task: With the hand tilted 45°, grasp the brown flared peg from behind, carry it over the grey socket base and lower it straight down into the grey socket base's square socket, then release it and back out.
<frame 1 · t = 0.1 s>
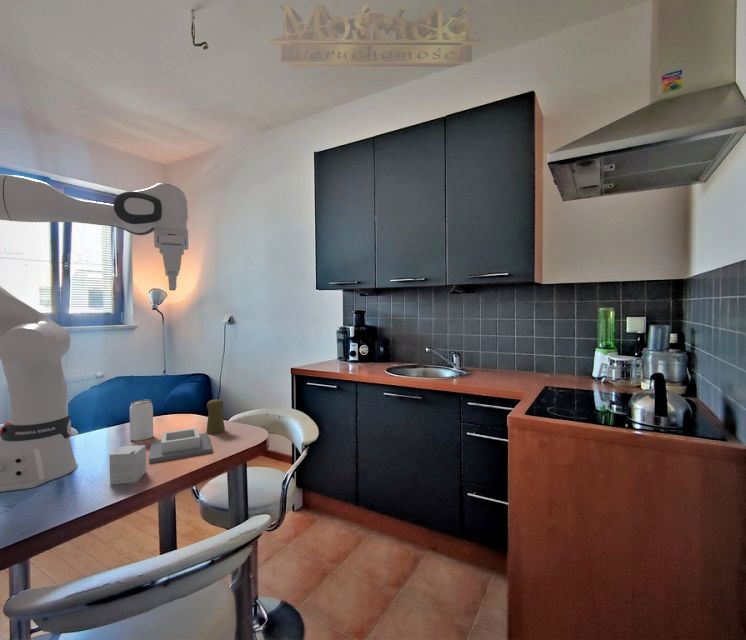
hand: (172, 289, 111), 48 cm above the table, tool pointing down, fingers open, 8 cm apart
brown flared peg: (215, 432, 131), on the table
can: (142, 438, 125), on the table
grey socket base: (180, 448, 115), on the table
skincare box: (128, 479, 95), on the table
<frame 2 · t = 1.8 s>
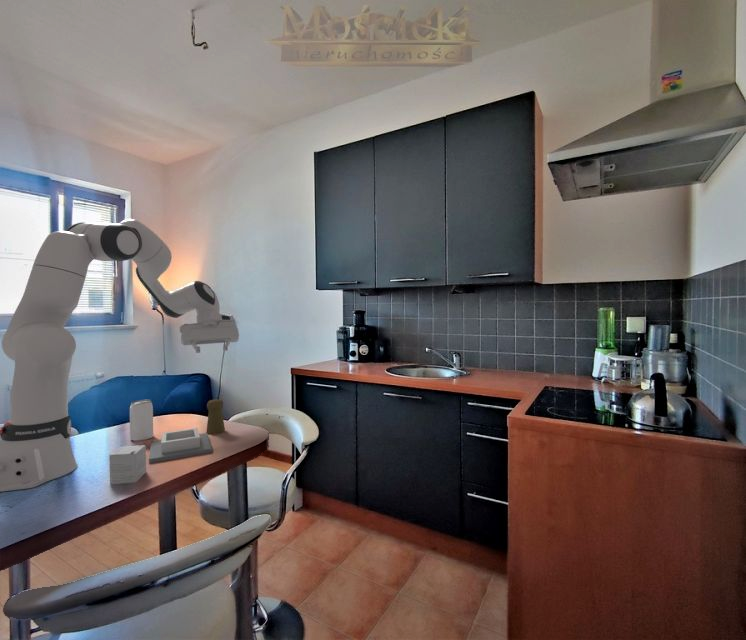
hand: (212, 350, 140), 27 cm above the table, tool tilted 45°, fingers open, 8 cm apart
nothing on the table moved.
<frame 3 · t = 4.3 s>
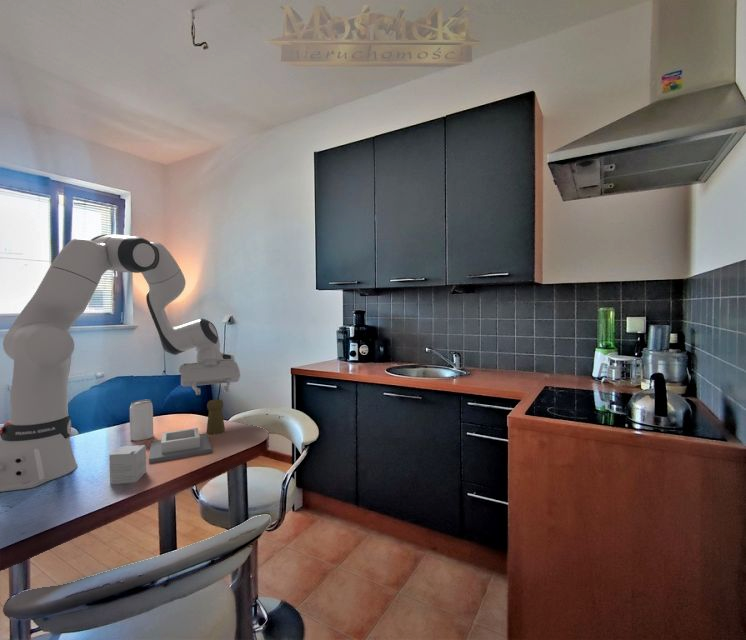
hand: (212, 392, 136), 12 cm above the table, tool tilted 45°, fingers open, 8 cm apart
nothing on the table moved.
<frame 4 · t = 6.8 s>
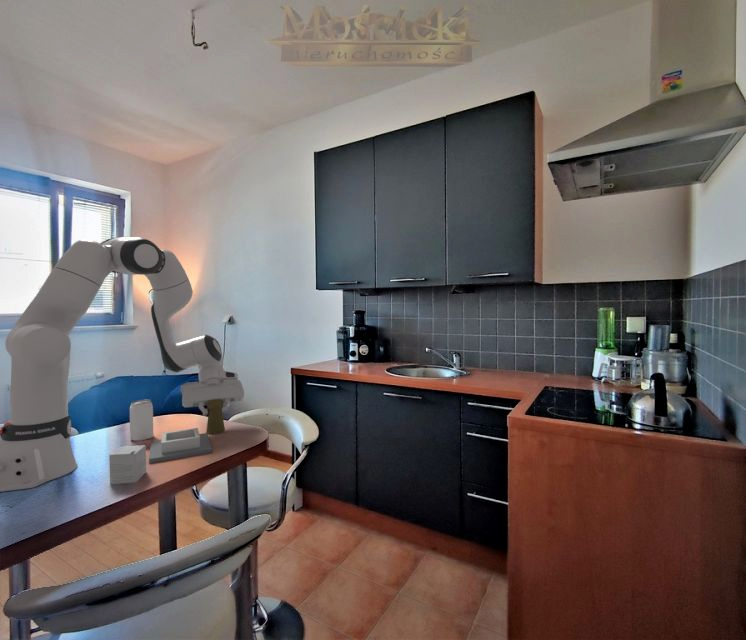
hand: (215, 413, 130), 6 cm above the table, tool tilted 45°, fingers closed on brown flared peg, 5 cm apart
brown flared peg: (215, 432, 131), on the table, touching gripper
everything else where it was.
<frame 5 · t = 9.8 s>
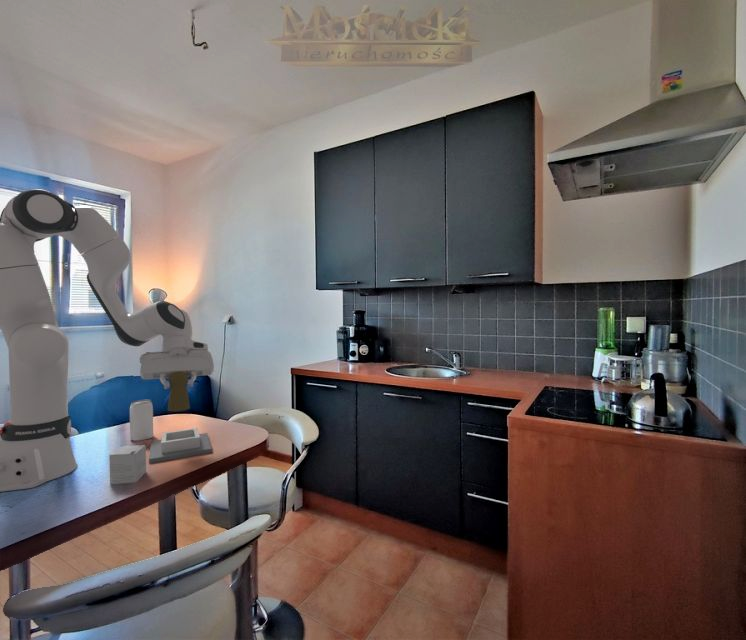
hand: (178, 386, 114), 19 cm above the table, tool tilted 45°, fingers closed on brown flared peg, 5 cm apart
brown flared peg: (178, 409, 114), point 12 cm above the table, touching gripper
everything else where it was.
when the fingers open (9 cm above the table, at t = 12.8 s): brown flared peg drops 1 cm, resting on grey socket base.
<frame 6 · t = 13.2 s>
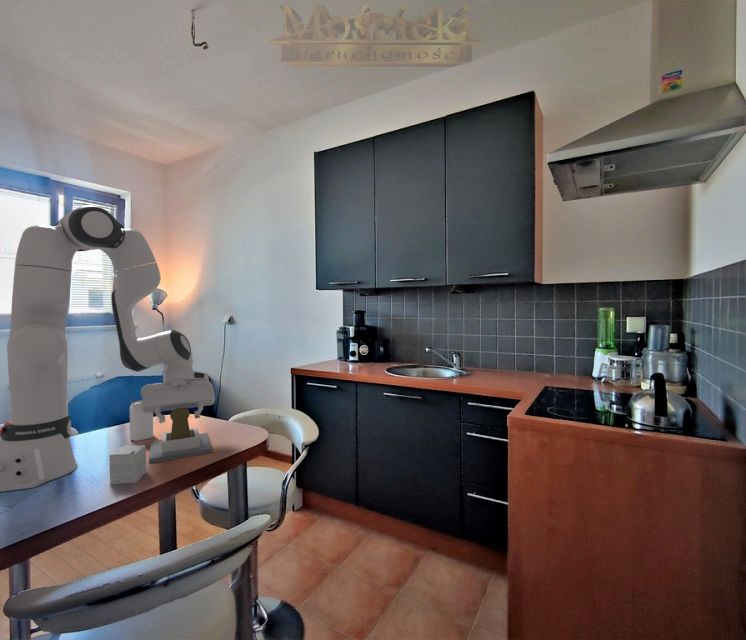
hand: (180, 419, 114), 9 cm above the table, tool tilted 45°, fingers open, 8 cm apart
brown flared peg: (180, 445, 115), point 1 cm above the table, touching grey socket base
everything else where it was.
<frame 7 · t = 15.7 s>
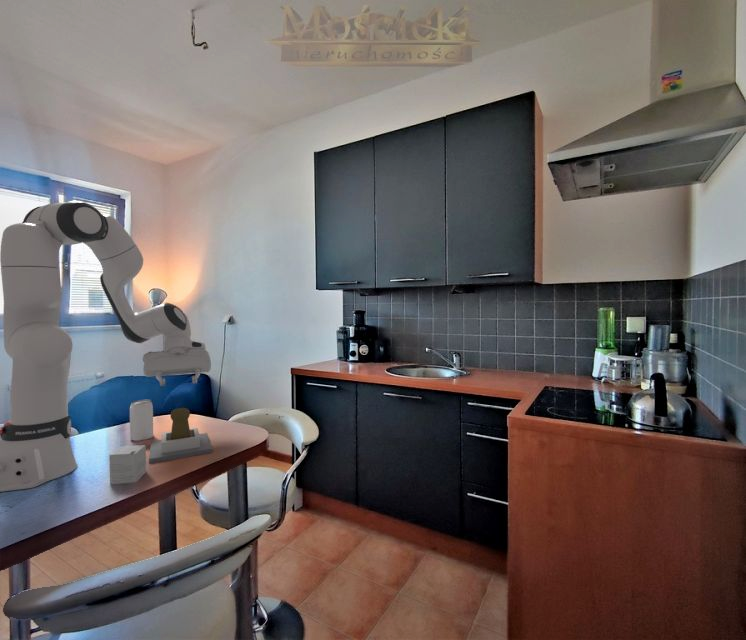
hand: (179, 383, 124), 18 cm above the table, tool tilted 45°, fingers open, 8 cm apart
nothing on the table moved.
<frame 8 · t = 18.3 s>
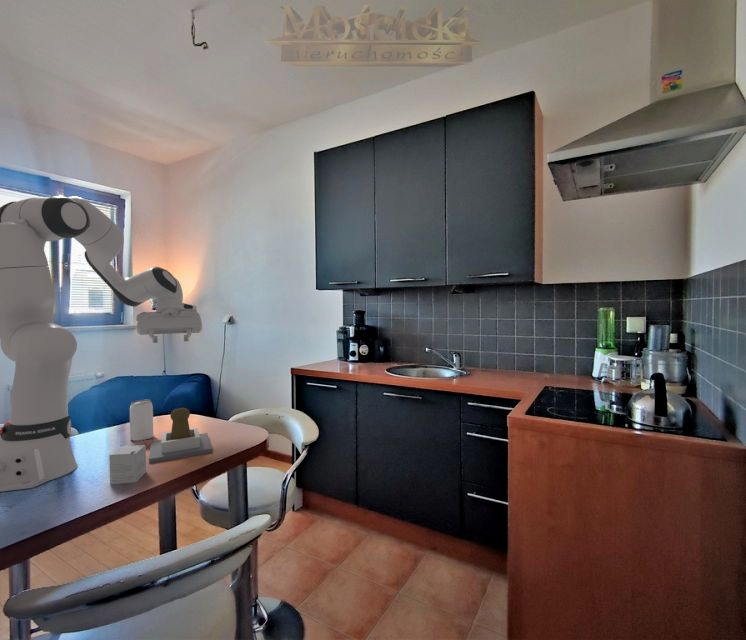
hand: (171, 341, 130), 31 cm above the table, tool tilted 45°, fingers open, 8 cm apart
nothing on the table moved.
at the end: brown flared peg 0.0 cm off-centre on the grey socket base, point 1.0 cm above the grey socket base's base; brown flared peg tilted 0°; the gripper is holding nothing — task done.
